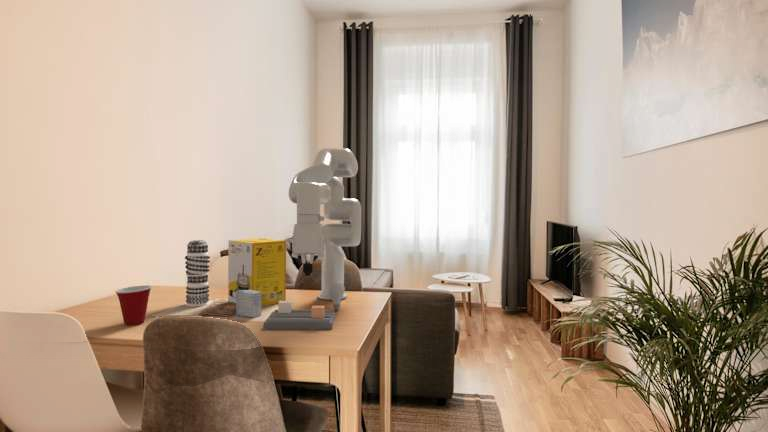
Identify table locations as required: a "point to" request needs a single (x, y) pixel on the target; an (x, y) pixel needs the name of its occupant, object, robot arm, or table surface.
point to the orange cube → (318, 311)
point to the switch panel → (299, 320)
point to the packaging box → (257, 268)
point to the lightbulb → (336, 293)
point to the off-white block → (284, 307)
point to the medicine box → (248, 303)
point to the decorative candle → (197, 273)
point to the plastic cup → (134, 303)
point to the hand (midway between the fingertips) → (307, 275)
